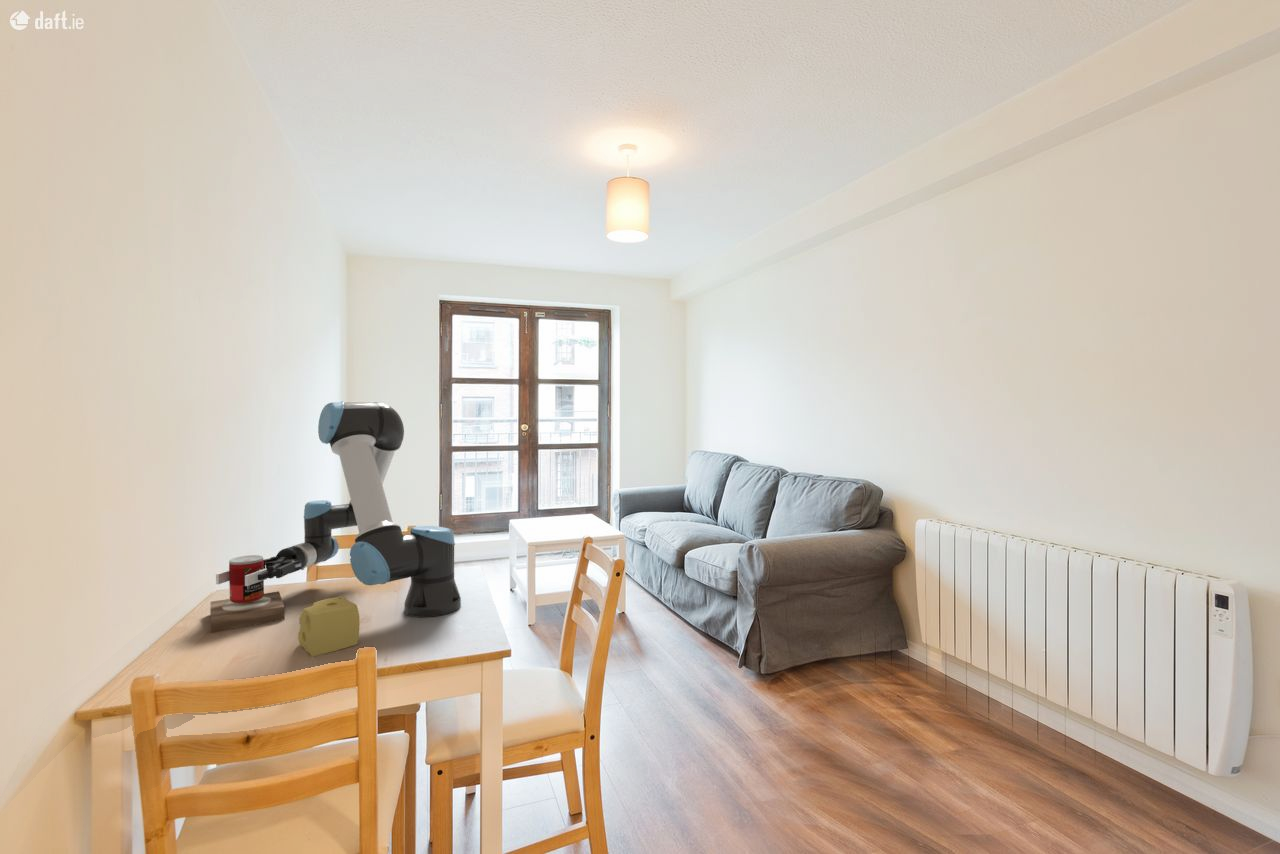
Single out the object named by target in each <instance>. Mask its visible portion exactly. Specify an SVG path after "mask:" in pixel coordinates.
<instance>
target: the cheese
mask: <svg viewBox="0 0 1280 854" xmlns="http://www.w3.org/2000/svg"><path fill="white" fill-rule="evenodd" d="M360 621H361V620H360V613H359V608H358V605H357V604H355V603H354V602H352V601H350V600H349V599H347V598H346V597H345V596H344V595H343V596H342V595H341V596H337V597H330V598H324V599H321V600H317V601H315V602H313V603H312V604H311V605H310V606H308V607H304V608H303V610H302V611H301V613H300V615H299V626H300V629H299V631H298V634H297V635H298V637H297V638H298V643H299V645H300V646H301V647H302V648H304V650H306V652H307V653H308V655H310V656H311V657H312V658H314V657H315V658H316V657H318V656H321V655H325V654H329V653H332V652H335V651H340V650H343V649H346V648H349V647H354V646H357V645H358V642H359V637H360V623H361V622H360Z"/></svg>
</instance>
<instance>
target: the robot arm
mask: <svg viewBox="0 0 1280 854" xmlns="http://www.w3.org/2000/svg"><path fill="white" fill-rule="evenodd" d="M319 415H320V416H319V419H318V425H317V426H318V427H317V429H318V430H317V431H318V438H319V441H320V442H321V443H322V444H325V445H328V444H329V446H330V448H331V449H330V450H331V452H332V453H333V454H335V455H337V456H338V457H339V459H340V463H341V467H342V471H343V475H344V479H345V482H346V486H347V490H348V494H349V498H350V501H349V503H346V504H336V505H332V502H331V501H330V500H321V499H320V500H312V501H308V502H306V503H305V505H304V510H303V529H304V542H300V543H298V544H294V545H292V546H289V547H286V548H283V549H280V551H278V553H277V554H276V555H275V556H271V557H269V558H263V560H264V569H263V570H260V571H257V572H254V573H251V574H248V575H245V586H249V585H252V584H255V583H257V582H260V581H263V580H264V581H265V580H268V579H271V580H272V579H274V578H276V579H280V578H283V577H285V576H287V575H290V574H293V573H295V572H299V571H300V570H301V571H304V570H305V568H309V567H311V566H314V565H317V564H319V563H325V562H326V561H328V560H330V559H331V558H333V557H335V556H336V555H337V554H338V552H339V549H340V545H339V542H338V540H337V539H336V537H334V536H333V535H332V530H336V529H343V528H349V527H357V529H358V534H357V535H356V536H355V538H354V542H355V543H354V544H353V545H352V546H351V548H350V550H349V557H350V558H349V562H350V566H351V569H352V572H353V574H354V575H355V578H356V579H357V580H358V581H359V582H360V583H362V584H363V585H365V586H376V585H385V584H387V583H391V582H396V581H399V580H403V579H408V578H410V585H409V589H408V591H407V594H406V597H405V600H404V607H403V608H404V613H405V614H406V615H408V616H411V617H417V618H418V617H420V618H422V617H423V618H425V617H426V618H427V617H428V618H429V617H438V616H443V615H446V614H450V613H453V612H455V611H457V610H458V609H460V608H461V604H462V600H461V599H462V597H461V595H460V592H459V589H458V586H457V583H456V580H455V546H456V543H455V535H454V534H455V533H454V532H453V530H452V529H451V528H447V527H444V526H437V525H436V526H434V525H419V526H416V525H415V526H413V527H410V530H409V532H410V533H407V534H403V531H402V528H401V526H400V525H399V524H397V523H394V522H393V519H392V515H391V511H390V507H389V504H388V501H387V496H386V493H385V490H384V486H383V484H384V482H385V479H386V476H387V474H388V470H389V468H390V466H391V463H392V460H393V457H394V454H395V452H396V451H398V450H399V449H400V448H401V445H402V444H403V441H404V436H405V427H404V423H403V420H402V418H401V416H400V414H399V413H398V411H396V410H395V409H394V408H393V407H392V406H390V405H389V404H387V403H382V402H375V401H374V402H351V401H350V402H344V401H340V402H339V401H338V402H329V403H326V404H325V405H324V407H323V408H322V410H321V412H320V414H319ZM227 582H229V569H228V570H224V571H222V572H218V573H216V574H215V584H216V585H221V584H225V583H227Z"/></svg>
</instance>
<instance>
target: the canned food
mask: <svg viewBox="0 0 1280 854" xmlns="http://www.w3.org/2000/svg"><path fill="white" fill-rule="evenodd" d="M263 569H264V556H262V555H259V554H258V555H257V554H255V555H254V554H251V555H242V556H236V557H233V558H231V559H229V562H228V570H229V581H228V583H229V599H230V600H231V602H233V603H247V602H252V601H256V600H259V599H261V598H262V597H263V595H264V594H265V584H264V581H265V580H263V581H260V582H257V583H255V584H252V585H249V586H245V575H248V574H251V573H254V572H257V571H260V570H263Z"/></svg>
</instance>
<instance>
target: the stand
mask: <svg viewBox="0 0 1280 854" xmlns="http://www.w3.org/2000/svg"><path fill="white" fill-rule="evenodd" d="M209 608H210V609H209V611H210V613H209V616H210V619H209V621H210V623H209V624H210V626H209V627H210V629H209V631H210V633H216V632H221V631H227V630H234V629H239V628H243V627H249V625H250V626H254V625H255V624H256V625H261V624H266V622H267V623H272V622H277V621H276V620H278V621H283V620H282V619H284V620H285V615H286V614H285V613H286V612H285V604H284V601H283V598H282V596H281V594H280V591H272V592H271V591H270V592H264V595H263V597H262V598H261V599H259V600H256V601H252V602H247V603H233V602H231V600H230V598H226V599H221V600H214V601H210V607H209ZM271 621H272V622H271ZM260 623H261V624H260ZM256 625H255V626H256Z"/></svg>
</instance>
